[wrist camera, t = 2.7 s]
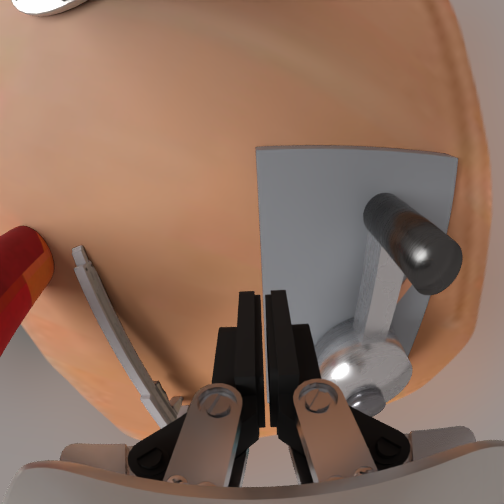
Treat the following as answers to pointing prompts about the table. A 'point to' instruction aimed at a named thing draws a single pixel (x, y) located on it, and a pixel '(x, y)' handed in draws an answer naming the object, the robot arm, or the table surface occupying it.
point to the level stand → (340, 225)
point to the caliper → (125, 345)
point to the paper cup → (21, 277)
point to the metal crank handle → (385, 302)
